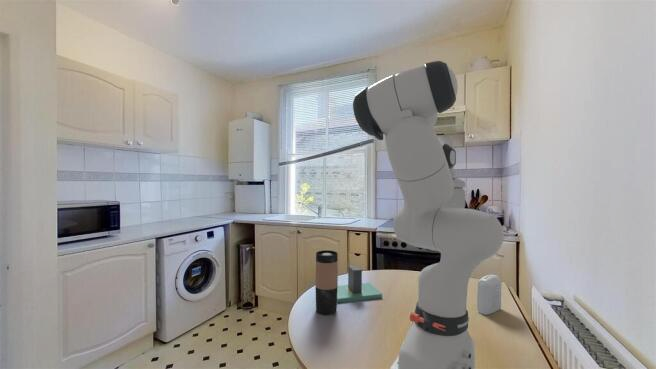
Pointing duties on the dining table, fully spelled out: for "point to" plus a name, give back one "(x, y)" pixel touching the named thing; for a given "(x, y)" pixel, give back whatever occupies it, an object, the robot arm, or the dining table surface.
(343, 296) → the teal plate
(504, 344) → the dining table surface
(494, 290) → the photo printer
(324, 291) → the travel mug
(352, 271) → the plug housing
